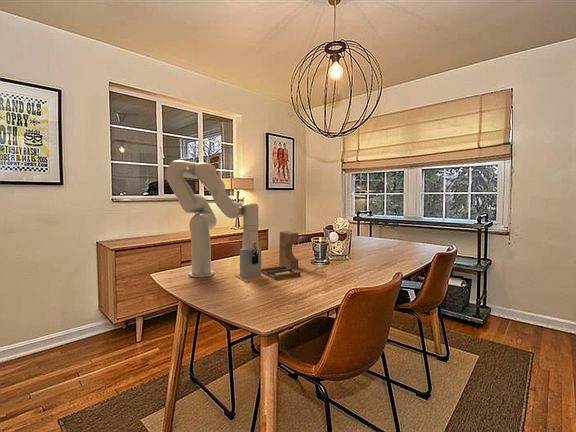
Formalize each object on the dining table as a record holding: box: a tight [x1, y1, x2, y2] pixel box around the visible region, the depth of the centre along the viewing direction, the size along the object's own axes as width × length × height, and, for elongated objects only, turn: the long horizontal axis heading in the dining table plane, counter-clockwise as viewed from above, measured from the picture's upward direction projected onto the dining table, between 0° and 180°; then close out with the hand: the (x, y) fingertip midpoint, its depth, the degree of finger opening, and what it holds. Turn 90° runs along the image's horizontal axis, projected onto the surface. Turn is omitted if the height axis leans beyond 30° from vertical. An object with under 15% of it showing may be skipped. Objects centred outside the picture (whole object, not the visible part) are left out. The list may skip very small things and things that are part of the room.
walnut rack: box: [261, 265, 301, 281], centre depth 165 cm, size 15×15×2 cm
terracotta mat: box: [234, 273, 270, 284], centre depth 160 cm, size 14×12×1 cm
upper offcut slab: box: [273, 271, 292, 276], centre depth 162 cm, size 5×9×1 cm, turn 128°
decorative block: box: [278, 230, 299, 270], centre depth 182 cm, size 11×6×20 cm, turn 38°
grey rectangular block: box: [239, 247, 262, 278], centre depth 160 cm, size 4×10×14 cm, turn 122°
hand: (250, 261), depth 160 cm, fingers open, 9 cm apart
